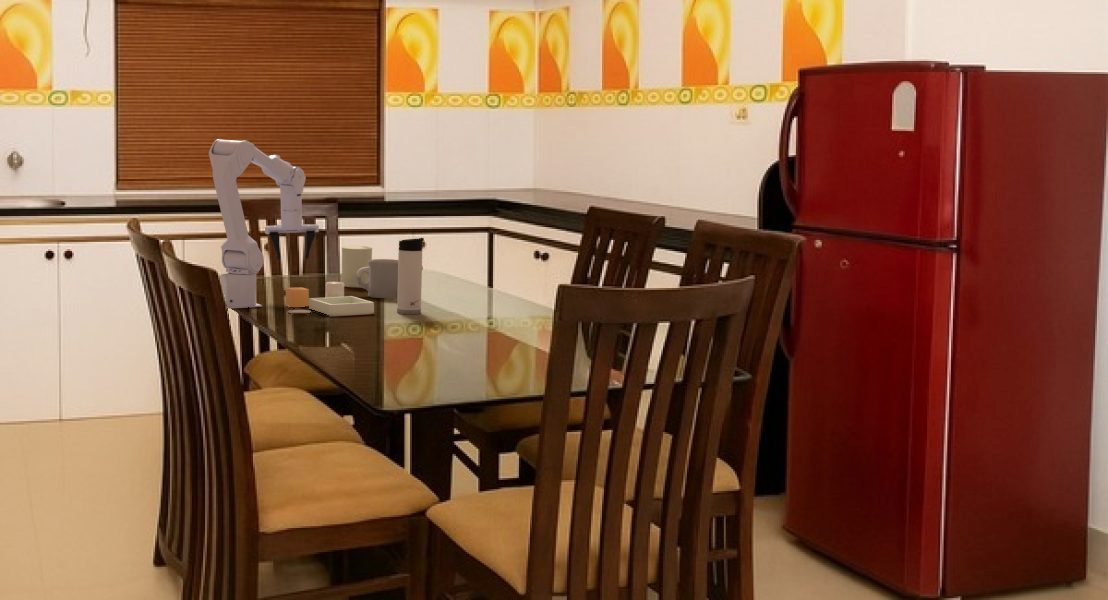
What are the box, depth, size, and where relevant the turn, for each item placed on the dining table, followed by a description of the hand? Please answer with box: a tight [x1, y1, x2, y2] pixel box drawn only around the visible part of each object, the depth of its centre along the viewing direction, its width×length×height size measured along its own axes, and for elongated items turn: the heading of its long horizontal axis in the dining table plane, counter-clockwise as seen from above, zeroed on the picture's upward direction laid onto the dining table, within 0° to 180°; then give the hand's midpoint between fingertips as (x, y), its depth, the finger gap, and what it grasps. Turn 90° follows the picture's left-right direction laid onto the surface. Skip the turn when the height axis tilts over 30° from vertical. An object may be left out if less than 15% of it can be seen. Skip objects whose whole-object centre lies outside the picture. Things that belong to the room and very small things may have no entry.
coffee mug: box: [356, 258, 398, 299], centre depth 396 cm, size 13×10×10 cm
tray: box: [308, 295, 375, 317], centre depth 363 cm, size 13×13×3 cm
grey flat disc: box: [287, 309, 312, 313], centre depth 359 cm, size 6×6×1 cm
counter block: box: [285, 286, 310, 307], centre depth 369 cm, size 4×4×5 cm
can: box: [340, 245, 373, 288], centre depth 416 cm, size 9×9×12 cm
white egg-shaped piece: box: [324, 281, 345, 298], centre depth 375 cm, size 5×5×6 cm
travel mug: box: [396, 237, 425, 315], centre depth 365 cm, size 6×7×20 cm
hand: (292, 258), depth 384 cm, fingers open, 7 cm apart
